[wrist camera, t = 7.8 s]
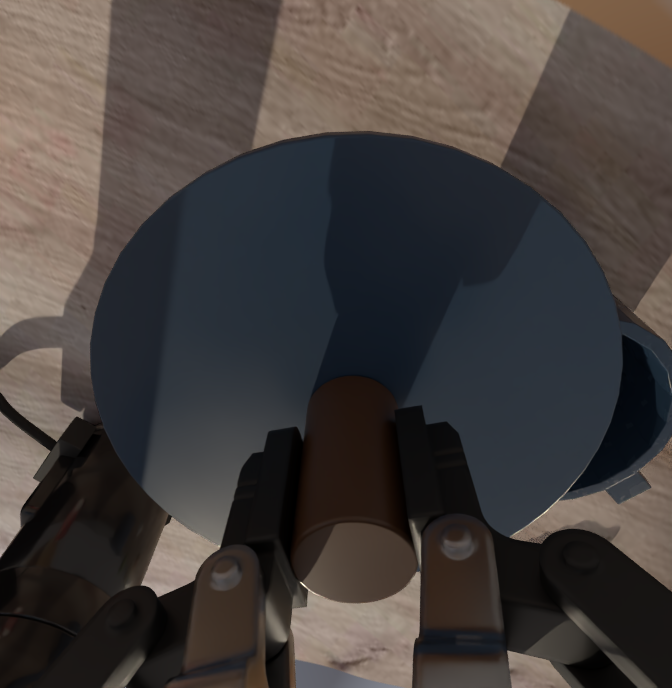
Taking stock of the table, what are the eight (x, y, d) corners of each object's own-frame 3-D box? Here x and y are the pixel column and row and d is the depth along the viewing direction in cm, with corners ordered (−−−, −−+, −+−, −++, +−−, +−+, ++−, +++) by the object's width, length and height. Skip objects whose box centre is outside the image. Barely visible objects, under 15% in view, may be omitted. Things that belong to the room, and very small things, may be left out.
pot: (512, 458, 44) (550, 550, 36) (367, 314, 37) (372, 386, 29) (661, 368, 39) (744, 451, 31) (524, 186, 33) (583, 228, 24)
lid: (339, 600, 21) (336, 792, 15) (12, 374, 15) (-169, 543, 10) (693, 402, 15) (880, 587, 10) (377, -35, 10) (408, -140, 5)
